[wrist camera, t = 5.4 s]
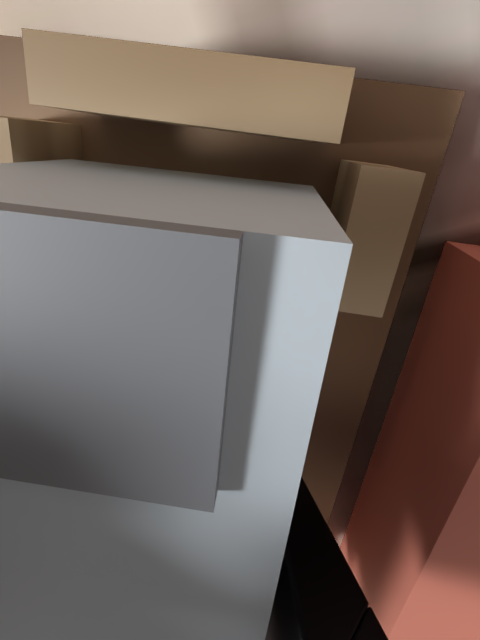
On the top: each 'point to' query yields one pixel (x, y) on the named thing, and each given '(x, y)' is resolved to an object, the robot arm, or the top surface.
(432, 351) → the salmon pink slab
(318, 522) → the robot arm
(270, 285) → the pale blue slab
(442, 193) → the top surface
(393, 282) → the jig
